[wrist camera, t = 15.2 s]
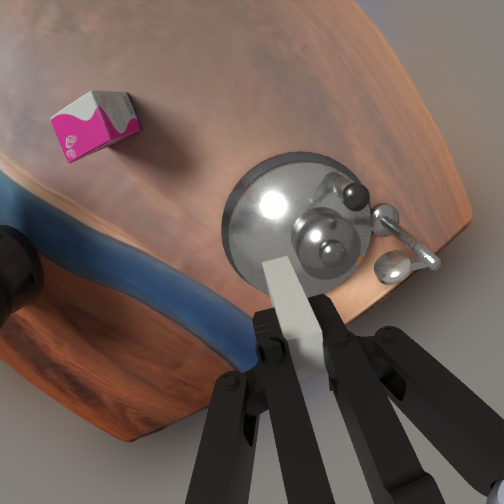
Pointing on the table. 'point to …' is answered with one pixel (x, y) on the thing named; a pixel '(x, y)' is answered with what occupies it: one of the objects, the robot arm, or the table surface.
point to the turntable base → (259, 170)
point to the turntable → (292, 218)
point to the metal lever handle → (397, 262)
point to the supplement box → (94, 123)
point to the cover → (325, 243)
